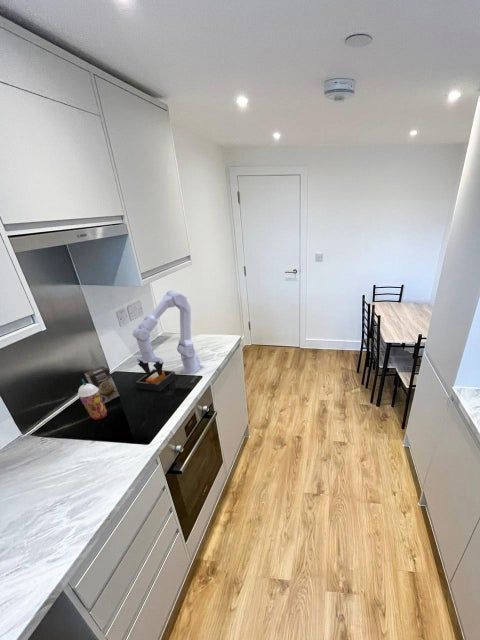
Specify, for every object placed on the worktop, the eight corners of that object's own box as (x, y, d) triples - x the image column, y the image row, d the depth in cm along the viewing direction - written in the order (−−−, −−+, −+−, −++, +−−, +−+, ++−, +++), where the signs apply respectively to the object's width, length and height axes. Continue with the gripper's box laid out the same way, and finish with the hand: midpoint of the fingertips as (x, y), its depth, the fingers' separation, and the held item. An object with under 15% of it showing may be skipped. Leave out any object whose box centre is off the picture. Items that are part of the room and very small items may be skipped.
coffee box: (102, 404, 160) (89, 376, 151) (96, 401, 164) (83, 372, 155) (120, 396, 166) (108, 368, 157) (114, 392, 170) (102, 365, 161)
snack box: (160, 377, 180) (157, 370, 177) (166, 378, 179) (164, 371, 176) (148, 386, 172) (145, 379, 169) (155, 387, 171) (152, 380, 168)
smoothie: (86, 420, 150) (66, 382, 139) (100, 410, 156) (83, 373, 145) (99, 423, 147) (80, 385, 136) (113, 412, 154) (97, 375, 143)
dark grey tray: (155, 376, 183) (153, 369, 181) (176, 378, 179) (174, 371, 177) (138, 389, 171) (135, 382, 169) (160, 391, 168) (157, 384, 165)
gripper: (129, 353, 164) (138, 376, 171) (153, 355, 160) (161, 379, 167) (138, 347, 169) (146, 370, 177) (162, 349, 165) (169, 372, 173)
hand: (154, 374), depth 172 cm, fingers open, 7 cm apart
